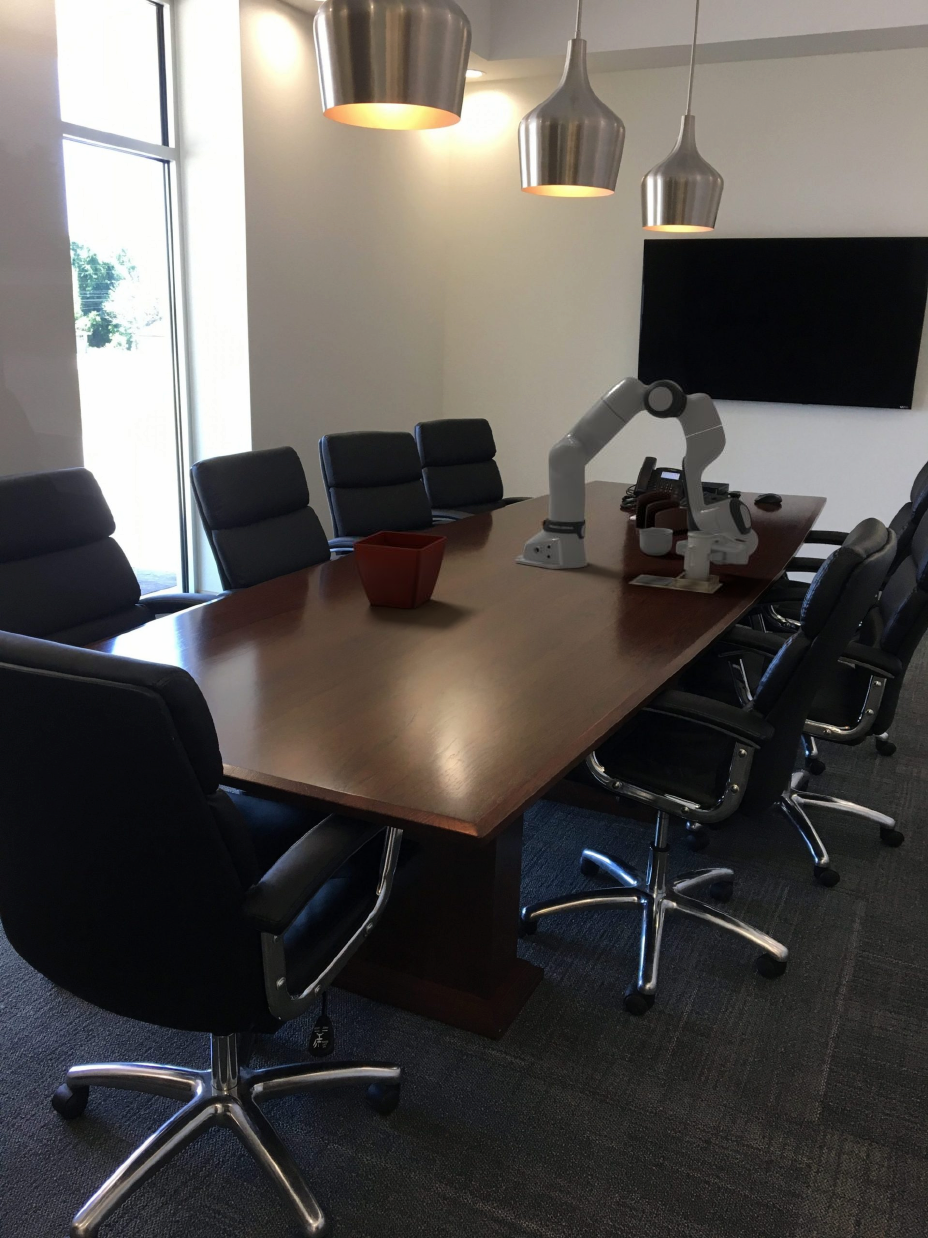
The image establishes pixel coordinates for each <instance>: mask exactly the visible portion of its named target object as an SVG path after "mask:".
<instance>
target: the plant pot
mask: <svg viewBox="0 0 928 1238" xmlns="http://www.w3.org/2000/svg"><path fill="white" fill-rule="evenodd" d="M446 544H447V536H444V535H434V534H433V535H432V534H423V533H413V532H412V533H411V532H399V531H392V530H391V531H390V530H383V531H382V530H381V531H379V532H377V533H375V534H372V535H369V536H367V537H364V538H361V539H360V540H357V541H355V542H353V543H352V547H353V552H354V558H355V559H354V560H355V563H356V567H357V571H358V574H359V578H360V580H361V585H362V587H363V590H364V592H365V595H366V598H367V601H368V602H369V604H370V605H372V606H373V605H374V606H382V607H383V606H384V607H391V608H398V609H399V608H401V609H409V610H410V609H411V610H413V609H417V607H420V606H421V605H423V604H424V603H425V602H427V601H429V600H431V598H432V596H433V594H434V590H435V587H436V585H437V581H438V578H439V576H440V575H439V574H440V571H441V567H442V564H443V559H444V554H445V549H446Z"/></svg>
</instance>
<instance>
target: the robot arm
mask: <svg viewBox="0 0 928 1238" xmlns="http://www.w3.org/2000/svg"><path fill="white" fill-rule="evenodd" d="M643 411H646V412H647V413H648V414H650V415H651V416H652V417H655V418H658V419H661V420H662V419H663V420H665V419H670V418H672V419H673V418H674V419H676V420H678V422H679V423H680V425H681V428H682V431H683V434H684V438H685V442H686V443H685V444H686V448H685V449H686V450H685V455H684V457H683V458H682V459H681V460H682V461H681V471H682V472H681V473H682V481H683V489H684V494H685V495H684V496H685V502H686V503H685V504H686V508H687V526H688V529H687V530H688V532H690V531H705V532H710V533H713V537H712V541H711V553H709V554H707V560H710V562H712V563H714V564H716V565H724V564H725V565H729V564H733V565H747V564H748V562H749V558H750V557H749V556H750V555H752V554H753V553H755V551H756V549H757V547H758V545H759V537H758V535H757V533H756V532H755V530H754V529H752V527H753V526H752V525H753V520H752V514H751V510H750V509H749V507H748V506H747V505H746V503H744V502H743V501H742V500H741V499H739V498H737V497H732V498H727V499H724V500H721V501H718V502H714V503H711V504H705V500H704V493H703V492H704V491H703V486H702V485H703V484H702V483H703V482H702V475H703V473H704V471H705V470H706V468H708V467H709V465H711V464H712V463H714V461H716V459H718V457H720V456H721V454H722V453H723V451H724V449H725V446H726V443H727V441H726V432H725V430H724V427H723V423H722V420H721V418H720V414H719V412H718V410H717V408H716V405H715V403H714V401H713V400H712V398H711V397H710V395H708V394H706V393H702V392H698V393H692V394H686V393H684V390H683V389H682V387H681V386H680V385H679V384H678V383H676V382H675V381H673V380H669V379H662V380H656V381H654V382H652V383H650V384H648V385H647V384H644V383H643V382H642V381H641V380H639V379H638V378H636V377H633V376H627V377H624V378H623V379H621V380H619V381H618V382H617V383H615V385H613V386H612V387H611V388H609V390H607V391H606V392H605V393H604V394H603V395H602V396H601V397H600V398H599V399H598V400H597V401H596V402H595V403H594V404H593V406H591V407H590V409H589V410H588V411H587V412H586V413H584V414H583V416H582V417H581V418H580V419H579V420H578V422H576V423H575V425H573V427H571V429H570V430H569V431H568V432H567V433H566V434H565V435H564V437H562V439H560V440H559V441H558V442H556V443H555V444H554V445H553V446H552V447H551V449H550V450H549V452H548V453H549V454H548V459H547V460H548V486H549V487H548V488H549V489H548V490H549V496H548V499H549V500H548V505H549V506H548V517H546V519H543V521H541V522H540V526H541V527H542V529H541V531H539V532H538V533H536V534H535V535H534V536H532V537H531V538H529V539H528V540H527V541H526V542H525V544H524V547H523V552H522V554H519V555H518V556H517V557H516V558H515V563H517V564H522V565H528V566H532V567H534V566H535V567H540V568H544V569H550V570H560V569H562V570H563V569H576V568H578V569H579V568H582V567H586V566H588V561H587V556H586V549H585V537H586V532H587V531H586V530H587V529H586V519H585V512H586V511H585V508H586V478H585V477H586V474H585V473H586V467H587V465H588V464H589V463H590V462H591V461H592V460H593V459H594V458H595V457H596V456H597V455H598V454H599V452H601V451H602V450H603V448H605V446H607V445H608V444H609V443H610V442H611V441H612V439H614V438H615V436H616V435H617V434H618V433H620V432H621V431H622V429H624V427H625V426H627V425H628V424H629V422H631V420H633V419H634V417H635V416H636V415H638V414H639V413H641V412H643ZM686 546H688V539H685V540H679V541H677V543H676V545H675V552H676V554H677V555H682V556H683V557H685V548H686Z"/></svg>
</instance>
